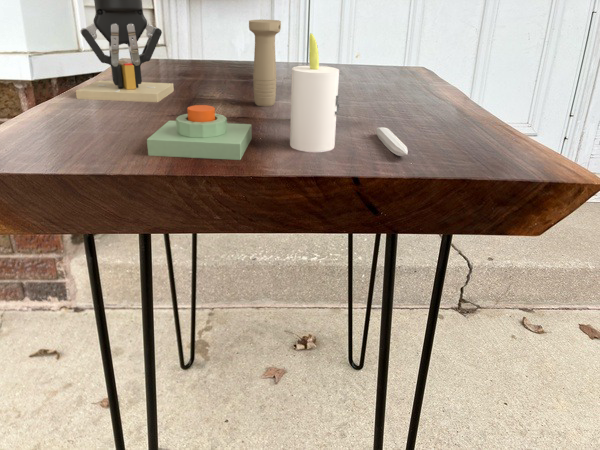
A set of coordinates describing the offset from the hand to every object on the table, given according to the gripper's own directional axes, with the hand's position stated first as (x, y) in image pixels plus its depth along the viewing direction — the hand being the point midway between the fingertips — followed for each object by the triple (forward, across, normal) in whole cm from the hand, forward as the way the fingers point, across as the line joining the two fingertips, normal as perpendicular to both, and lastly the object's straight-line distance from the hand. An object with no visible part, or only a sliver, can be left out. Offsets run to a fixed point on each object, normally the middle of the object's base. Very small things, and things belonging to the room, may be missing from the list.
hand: (127, 87), depth 93 cm
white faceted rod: (+4, -30, +38) cm, 49 cm away
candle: (+4, -20, +34) cm, 39 cm away
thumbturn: (0, 0, -1) cm, 1 cm away
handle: (+3, -21, +14) cm, 25 cm away
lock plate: (+3, 0, -1) cm, 3 cm away
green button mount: (+3, -5, +29) cm, 30 cm away
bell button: (0, -5, +29) cm, 30 cm away
